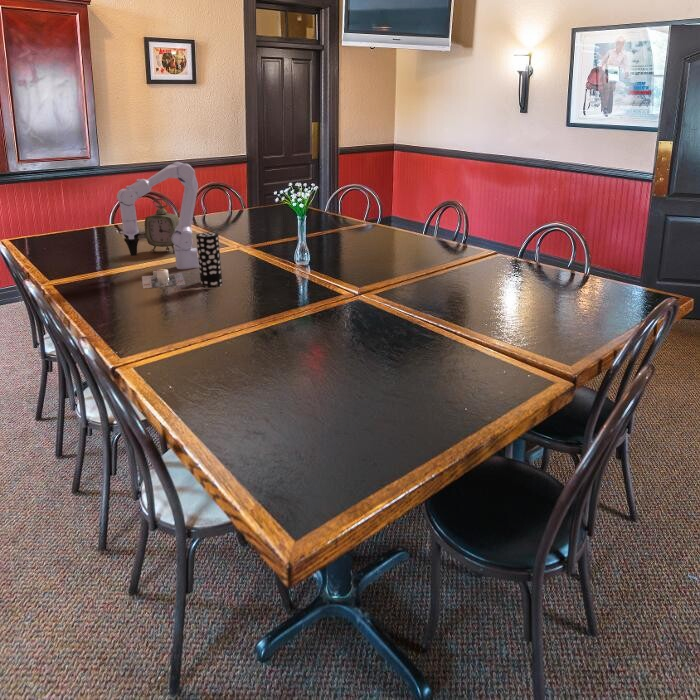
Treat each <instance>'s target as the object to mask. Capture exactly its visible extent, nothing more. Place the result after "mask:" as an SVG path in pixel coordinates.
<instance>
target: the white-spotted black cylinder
mask: <svg viewBox="0 0 700 700" xmlns="http://www.w3.org/2000/svg"><path fill="white" fill-rule="evenodd" d="M195 238H196V248H197V254H198V261H199V269H198V270H199V279H200V285H203V286H202V288H206V289H212V288H213V289H214V288H218V287H221V286H223V274H222V265H221V264H222V263H221V262H222V261H221V251H220V241H219V240H220V239H219V233H218V232H213V231H211V232H209V231H208V232H207V231H206V232H200V233H196V235H195Z"/></svg>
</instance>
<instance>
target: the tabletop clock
mask: <svg viewBox="0 0 700 700" xmlns="http://www.w3.org/2000/svg"><path fill="white" fill-rule="evenodd" d="M156 201H164V202H165V203H166V205H164V206H163V204H159V205H156V204H155V202H156ZM168 203H169V202H167V200H166V199H165V198H155V199H154V200H153V202H152V204H153V206H154V207H156V208H157V209H156V211H155V213H154V214H152V215H148V216H147V217H145V218H144V233H145V234H144V235H145V239H146V242H147V243H148V245H150V246H153V249H151V250H150V251H151V253H152V252H154V253H155V251H156V247H163V248H165V247H166V248H165V250H166V251H167V250H169V251H170V247H171V249H172V253H173V254H175V249H174V247H175V245H174V244H173V243H172V240H171V238H172V235H173V233H174V232H175V228H176V227H177V225H178V223H179V216H178V215H177V214H175V213H170V212H169V213H168V211H167V210H166V209H165V208H167V206H168Z"/></svg>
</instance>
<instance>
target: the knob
mask: <svg viewBox="0 0 700 700" xmlns="http://www.w3.org/2000/svg"><path fill="white" fill-rule="evenodd" d="M152 274H153V276H157V280H158V282H160V284H168V281H169V274H170V273H169V269H165V268H161V269H157V270H154V271H152Z"/></svg>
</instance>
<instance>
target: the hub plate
mask: <svg viewBox="0 0 700 700" xmlns="http://www.w3.org/2000/svg"><path fill="white" fill-rule="evenodd" d="M168 274H169V281H168V284H160V282H158V280H157V276H153V275H142V276H141V281H142V282H141V283H142V289H150V288H151V289H152V288H162V287H163V288H164V287H172V286H173V287H175V286H184V285H186V281H185V278H184V275H183V272H176V273H168Z"/></svg>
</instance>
